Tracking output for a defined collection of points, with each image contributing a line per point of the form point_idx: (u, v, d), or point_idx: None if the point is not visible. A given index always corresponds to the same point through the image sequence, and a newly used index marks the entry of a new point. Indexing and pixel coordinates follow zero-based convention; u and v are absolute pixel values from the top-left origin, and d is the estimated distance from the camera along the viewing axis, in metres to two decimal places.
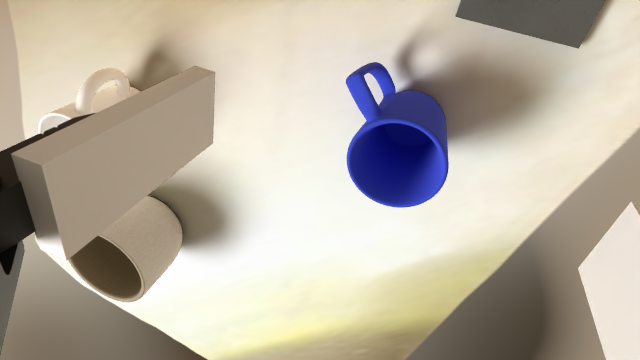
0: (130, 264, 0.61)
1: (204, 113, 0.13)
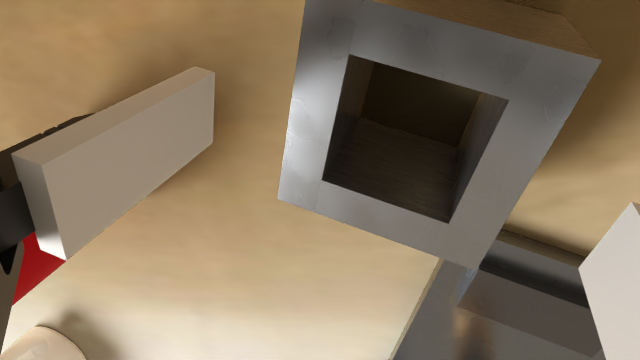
0: None
1: (204, 113, 0.13)
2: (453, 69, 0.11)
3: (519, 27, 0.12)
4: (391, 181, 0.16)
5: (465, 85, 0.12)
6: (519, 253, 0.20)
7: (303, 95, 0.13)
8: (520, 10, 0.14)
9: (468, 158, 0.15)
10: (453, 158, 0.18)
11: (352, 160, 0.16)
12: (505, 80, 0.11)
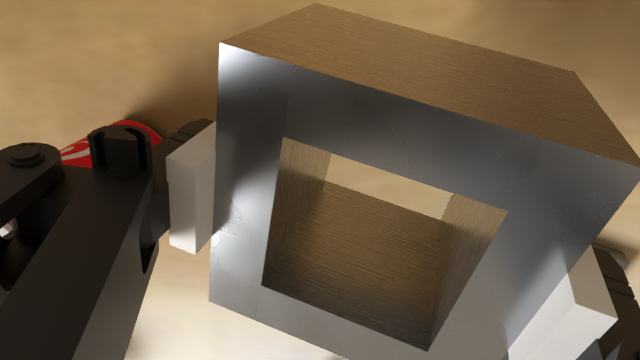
0: None
1: None
2: (427, 166, 0.08)
3: (521, 104, 0.08)
4: (355, 281, 0.12)
5: (445, 186, 0.08)
6: None
7: (228, 184, 0.10)
8: (520, 68, 0.11)
9: (453, 258, 0.11)
10: (437, 238, 0.14)
11: (307, 249, 0.13)
12: (502, 186, 0.08)
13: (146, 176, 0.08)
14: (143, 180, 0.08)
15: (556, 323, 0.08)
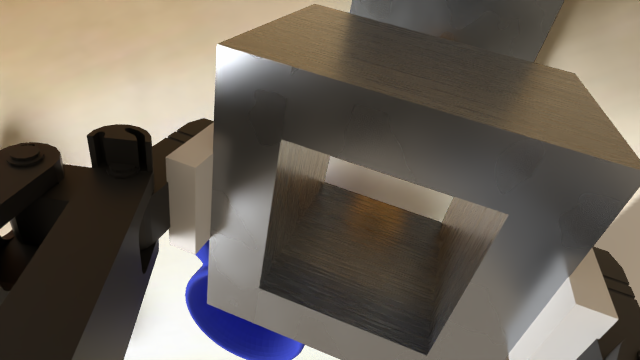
0: None
1: None
2: (427, 169, 0.08)
3: (521, 106, 0.08)
4: (354, 284, 0.12)
5: (445, 189, 0.08)
6: None
7: (226, 187, 0.10)
8: (520, 69, 0.11)
9: (453, 261, 0.11)
10: (436, 240, 0.14)
11: (306, 251, 0.13)
12: (502, 189, 0.08)
13: (146, 176, 0.08)
14: (143, 180, 0.08)
15: (556, 323, 0.08)
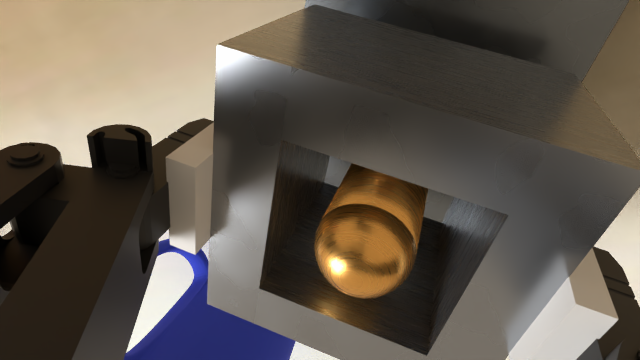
0: None
1: None
2: (427, 169, 0.08)
3: (521, 106, 0.08)
4: None
5: (444, 189, 0.08)
6: None
7: (226, 187, 0.10)
8: (520, 69, 0.11)
9: (453, 261, 0.11)
10: (436, 240, 0.14)
11: (306, 251, 0.13)
12: (502, 189, 0.08)
13: (146, 176, 0.08)
14: (143, 180, 0.08)
15: (556, 323, 0.08)
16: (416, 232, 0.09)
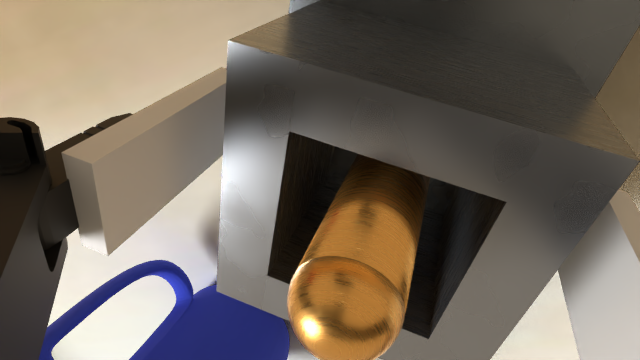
0: None
1: None
2: (428, 159, 0.08)
3: (519, 99, 0.09)
4: None
5: (445, 178, 0.08)
6: None
7: (235, 178, 0.10)
8: (518, 63, 0.11)
9: (454, 249, 0.12)
10: (438, 230, 0.15)
11: None
12: (500, 177, 0.08)
13: (39, 169, 0.08)
14: (36, 174, 0.08)
15: None
16: (405, 288, 0.08)
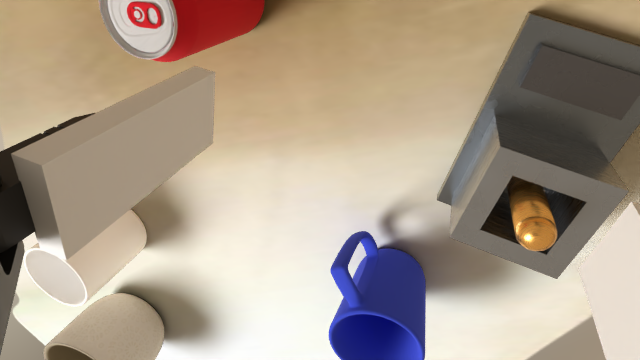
0: None
1: (204, 113, 0.13)
2: (562, 187, 0.26)
3: (590, 168, 0.26)
4: (511, 230, 0.30)
5: (566, 193, 0.26)
6: (572, 32, 0.27)
7: (482, 190, 0.27)
8: (583, 150, 0.29)
9: (554, 221, 0.29)
10: None
11: (488, 217, 0.30)
12: (586, 194, 0.25)
13: None
14: None
15: None
16: None
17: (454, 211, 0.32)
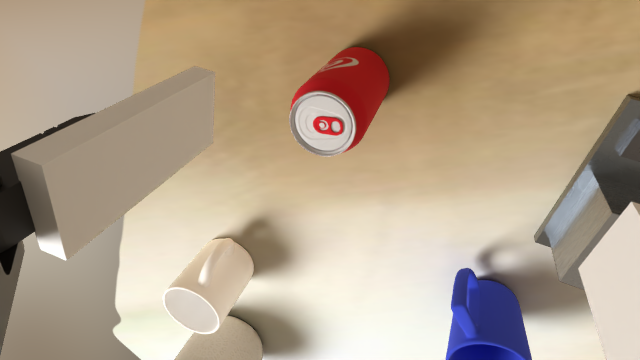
0: None
1: (204, 113, 0.13)
2: None
3: None
4: None
5: None
6: None
7: (593, 245, 0.33)
8: None
9: None
10: None
11: None
12: None
13: None
14: None
15: None
16: None
17: (558, 256, 0.37)
